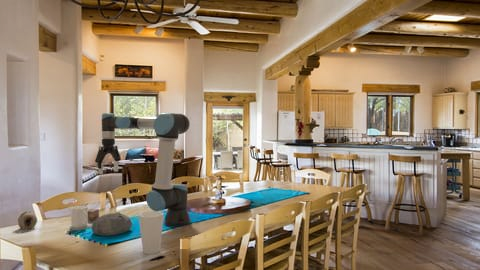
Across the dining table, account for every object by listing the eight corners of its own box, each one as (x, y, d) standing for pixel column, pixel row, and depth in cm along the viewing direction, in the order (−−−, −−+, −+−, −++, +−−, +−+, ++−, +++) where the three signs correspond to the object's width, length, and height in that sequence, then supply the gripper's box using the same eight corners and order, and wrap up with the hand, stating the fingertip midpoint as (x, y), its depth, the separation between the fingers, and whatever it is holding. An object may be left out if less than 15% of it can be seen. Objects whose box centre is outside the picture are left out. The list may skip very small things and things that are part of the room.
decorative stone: (92, 229, 194) (91, 211, 194) (131, 225, 202) (131, 208, 201) (91, 238, 178) (91, 219, 177) (133, 234, 185) (133, 215, 185)
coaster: (97, 225, 203) (97, 224, 203) (81, 230, 192) (81, 230, 192) (81, 223, 207) (81, 222, 207) (64, 228, 196) (64, 228, 196)
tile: (105, 218, 218) (105, 218, 218) (91, 223, 208) (91, 222, 208) (91, 217, 222) (91, 217, 222) (77, 221, 211) (77, 221, 211)
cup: (148, 246, 166) (148, 210, 166) (167, 248, 163) (167, 211, 163) (134, 254, 155) (134, 216, 155) (155, 256, 153) (154, 217, 152)
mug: (79, 230, 192) (79, 210, 192) (68, 226, 199) (68, 207, 199) (93, 226, 199) (93, 207, 199) (82, 223, 206) (82, 204, 206)
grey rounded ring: (18, 233, 196) (12, 216, 195) (32, 226, 203) (26, 210, 203) (29, 230, 192) (22, 213, 191) (42, 223, 200) (36, 207, 199)
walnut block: (98, 218, 217) (98, 209, 217) (93, 221, 211) (93, 211, 211) (90, 218, 218) (89, 208, 218) (84, 220, 212) (84, 211, 212)
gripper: (117, 137, 230) (117, 170, 230) (88, 138, 206) (88, 174, 207) (126, 137, 227) (126, 170, 227) (98, 138, 204) (98, 175, 204)
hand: (108, 172), depth 217 cm, fingers open, 13 cm apart
